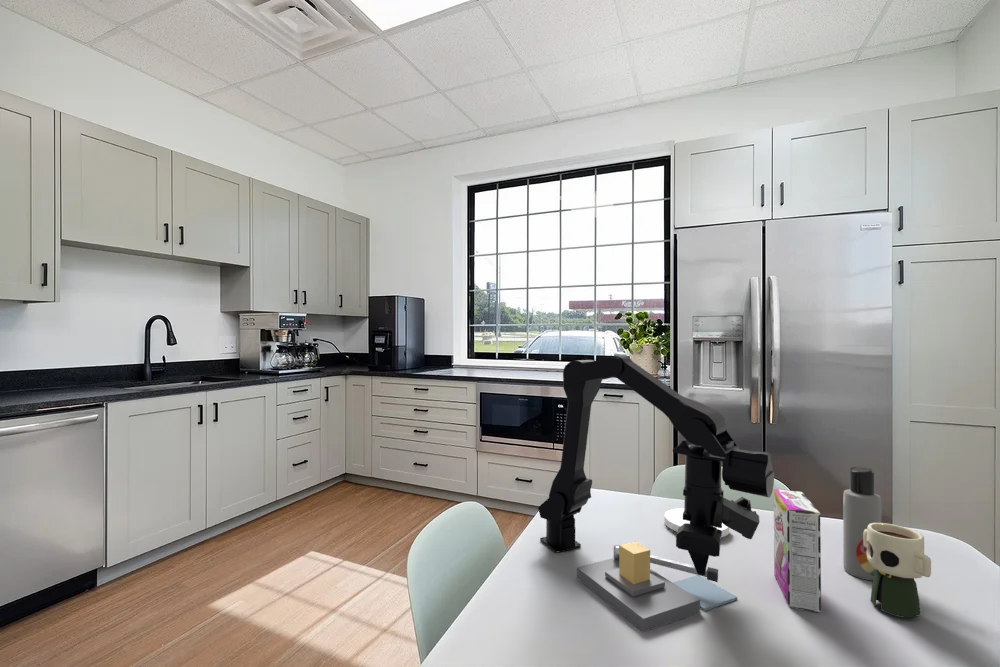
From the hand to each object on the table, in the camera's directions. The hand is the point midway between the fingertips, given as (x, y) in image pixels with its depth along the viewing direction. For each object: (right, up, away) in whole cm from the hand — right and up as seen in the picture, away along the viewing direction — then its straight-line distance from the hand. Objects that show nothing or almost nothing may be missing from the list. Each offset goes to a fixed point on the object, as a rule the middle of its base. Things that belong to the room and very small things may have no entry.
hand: (701, 574), depth 78 cm
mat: (+1, -4, +1) cm, 4 cm away
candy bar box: (+17, -4, +1) cm, 18 cm away
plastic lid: (+12, -5, +29) cm, 31 cm away
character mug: (+30, -4, -3) cm, 31 cm away
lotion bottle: (+35, -5, +9) cm, 36 cm away
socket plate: (-11, -4, 0) cm, 12 cm away
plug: (-11, -4, 0) cm, 12 cm away
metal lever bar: (-5, -2, +4) cm, 7 cm away
